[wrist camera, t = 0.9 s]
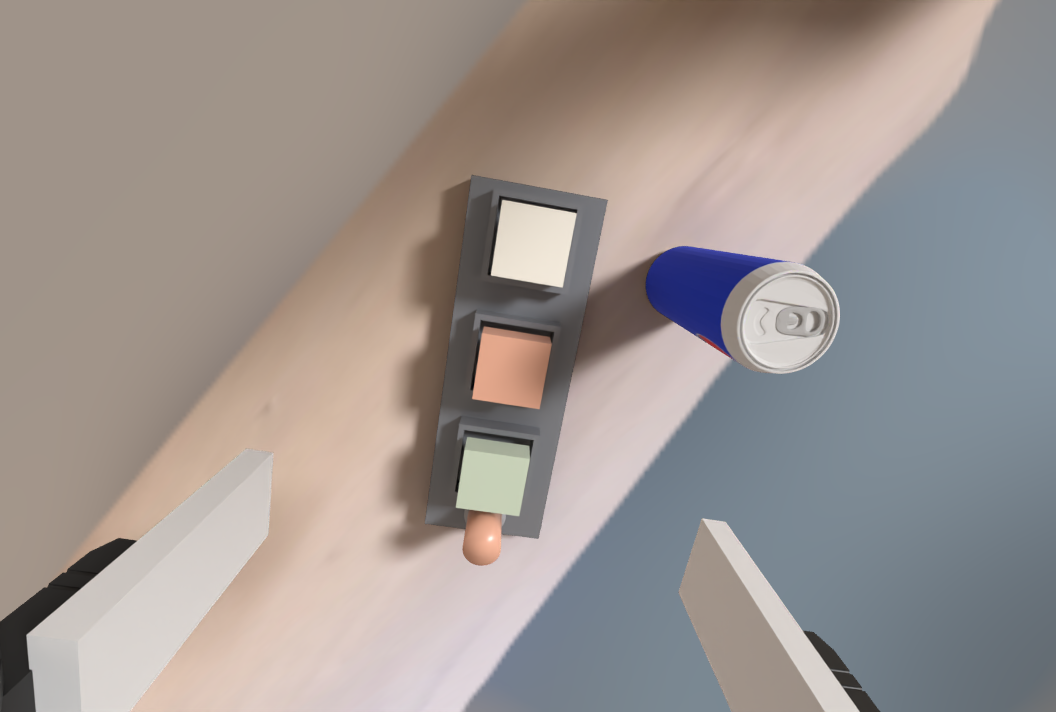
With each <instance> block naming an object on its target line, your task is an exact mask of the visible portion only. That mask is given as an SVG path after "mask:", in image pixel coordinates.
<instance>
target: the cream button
mask: <svg viewBox="0 0 1056 712" xmlns="http://www.w3.org/2000/svg"><path fill="white" fill-rule="evenodd" d="M576 215H577V213H573V212H567V211H562V210H556V209H550V208H545V207H539V206H534V205H528V204H523V203H517V202H512V201H506V200H502V205H501V212H500V218H499V225H498V232H497V238H496V245H495V251H494V258H493V265H492V271H491V275H492V276H497V277H503V278H509V279H515V280H521V281H527V282H533V283H539V284H545V285H550V286H556V287H562V288H563V283H564V278H565V273H566V267H567V262H568V257H569V252H570V246H571V241H572V236H573V230H574V225H575V220H576Z"/></svg>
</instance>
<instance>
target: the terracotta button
mask: <svg viewBox="0 0 1056 712" xmlns="http://www.w3.org/2000/svg"><path fill="white" fill-rule="evenodd" d="M551 346H552V343H551V340H550V337H547V336H540V335H534V334H528V333H522V332H516V331H510V330H503V329H497V328H491V327H485V326H484V328H483V332H482V337H481V344H480V350H479V357H478V364H477V370H476V377H475V383H474V390H473V397H472V399H475V400H482V401H489V402H495V403H502V404H508V405H515V406H522V407H528V408H535V409H540V404H541V399H542V393H543V388H544V383H545V378H546V372H547V367H548V362H549V356H550V351H551Z"/></svg>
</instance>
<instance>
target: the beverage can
mask: <svg viewBox="0 0 1056 712" xmlns="http://www.w3.org/2000/svg"><path fill="white" fill-rule="evenodd" d="M646 292H647V296H648V299H649V301H650V303H651V304H652V306H653V307H654V308H655V309H656V310H657V311H658V312H660V313H661V314H663V315H664V316H666V317H667V318H669V319H670V320H672V321H674V322H675V323H677V324H678V325H680V326H681V327H683V328H684V329H686V330H688V331H689V332H691V333H692V334H694V335H695V336H697V337H699V338H700V339H702V340H703V341H705V342H706V343H708V344H710V345H711V346H713V347H714V348H716V349H717V350H719V351H720V352H722V353H724V354H725V355H727V356H728V357H730V358H731V359H733V360H735V361H736V362H738V363H739V364H741V365H742V366H744V367H746V368H748V369H750V370H754V371H757V372H763V373H779V374H781V373H791V372H795V371H798V370H801V369H804V368H805V367H807V366H809V365H811V364H812V363H814V362H815V361H816V360H818V359H819V358H820V357H821V356H822V355H823V354H824V353H825V351H826V350H827V349H828V348H829V346H830V345H831V343H832V341H833V340H834V337H835V335H836V333H837V329H838V326H839V319H840V309H839V303H838V299H837V297H836V294H835V292H834V291H833V289H832V288H831V286H830V285H829V284H828V283H827V282H826V281H825V280H824V279H823V278H822V277H821V276H820V275H819V274H818V273H816V272H815V271H813V270H812V269H811V268H809V267H807V266H804V265H802V264H798V263H795V262H788V261H781V260H775V259H768V258H762V257H755V256H748V255H742V254H735V253H729V252H722V251H715V250H709V249H702V248H696V247H688V246H681V247H675V248H672V249H670V250H668V251H666V252H664V253H663V254H661V255H660V256H659V257H658V258H657V259H656V260H655V261H654V263H653V264H652V265H651V267H650V269H649V271H648V274H647V278H646Z"/></svg>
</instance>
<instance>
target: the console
mask: <svg viewBox="0 0 1056 712" xmlns="http://www.w3.org/2000/svg"><path fill="white" fill-rule="evenodd" d="M502 200H506V201H512V202H517V203H523V204H528V205H534V206H539V207H545V208H550V209H556V210H562V211H567V212H573V213H577V215H576V220H575V225H574V230H573V236H572V241H571V246H570V252H569V257H568V262H567V267H566V273H565V278H564V283H563V288H562V287H556V286H550V285H545V284H539V283H533V282H527V281H521V280H515V279H509V278H503V277H497V276H492V275H491V271H492V265H493V258H494V251H495V245H496V238H497V232H498V225H499V218H500V212H501V205H502ZM607 201H608V200H606V199H600V198H595V197H589V196H584V195H578V194H573V193H567V192H562V191H556V190H551V189H546V188H540V187H535V186H529V185H524V184H518V183H513V182H507V181H502V180H497V179H491V178H486V177H480V176H475V175H472V176H471V183H470V191H469V198H468V206H467V213H466V220H465V228H464V235H463V243H462V250H461V258H460V265H459V273H458V280H457V288H456V295H455V303H454V310H453V317H452V325H451V332H450V340H449V347H448V355H447V362H446V370H445V377H444V385H443V392H442V399H441V407H440V414H439V422H438V429H437V437H436V444H435V452H434V459H433V467H432V474H431V482H430V489H429V496H428V504H427V511H426V519H425V524H431V525H439V526H446V527H454V528H461V529H466V530H465V536H464V543H463V554H464V556H465V558H466V559H467V560H468V561H469V562H471V563H473V564H475V565H488V564H491V563H493V562H494V561H495V560H496V559H497V558H498V557H499V555H500V550H501V534H507V535H514V536H522V537H529V538H537V539H538V538H539V533H540V529H541V524H542V519H543V514H544V509H545V504H546V499H547V494H548V489H549V484H550V480H551V475H552V470H553V465H554V460H555V455H556V450H557V445H558V440H559V436H560V431H561V426H562V421H563V416H564V411H565V406H566V401H567V396H568V392H569V387H570V382H571V377H572V372H573V367H574V362H575V357H576V352H577V348H578V343H579V338H580V333H581V328H582V323H583V318H584V313H585V308H586V304H587V299H588V294H589V289H590V284H591V279H592V274H593V269H594V264H595V259H596V255H597V250H598V245H599V240H600V235H601V230H602V225H603V220H604V215H605V211H606V206H607ZM484 326H485V327H491V328H497V329H503V330H510V331H516V332H522V333H528V334H534V335H540V336H547V337H550V340H551V343H552V346H551V351H550V356H549V362H548V367H547V372H546V378H545V383H544V388H543V393H542V399H541V404H540V409H535V408H528V407H522V406H515V405H508V404H502V403H495V402H489V401H482V400H475V399H472V397H473V390H474V383H475V377H476V370H477V364H478V357H479V350H480V344H481V337H482V332H483V328H484ZM467 437H472V438H479V439H485V440H492V441H499V442H506V443H513V444H520V445H526V446H529V451H530V462H529V467H528V472H527V478H526V483H525V488H524V493H523V499H522V504H521V509H520V514H519V516H513V515H506V514H499V513H491V512H484V511H477V510H469V509H462V508H456V503H457V496H458V489H459V483H460V476H461V470H462V463H463V456H464V450H465V445H466V441H467Z"/></svg>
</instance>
